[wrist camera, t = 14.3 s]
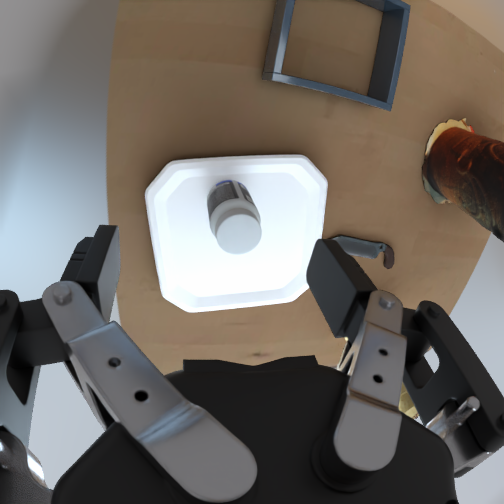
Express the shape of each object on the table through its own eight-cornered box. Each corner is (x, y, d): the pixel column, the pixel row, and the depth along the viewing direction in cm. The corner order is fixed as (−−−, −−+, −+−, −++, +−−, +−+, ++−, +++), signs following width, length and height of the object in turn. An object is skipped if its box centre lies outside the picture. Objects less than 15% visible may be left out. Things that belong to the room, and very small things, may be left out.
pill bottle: (203, 215, 35) (207, 256, 28) (210, 175, 32) (216, 206, 25) (244, 221, 36) (259, 261, 29) (254, 182, 34) (272, 214, 27)
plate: (324, 150, 35) (331, 155, 34) (308, 290, 46) (313, 300, 44) (143, 159, 32) (140, 164, 30) (166, 305, 43) (165, 315, 41)
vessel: (492, 152, 39) (583, 204, 22) (450, 218, 44) (534, 289, 28) (452, 95, 33) (569, 135, 16) (403, 171, 38) (511, 246, 22)
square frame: (261, 79, 30) (271, 80, 26) (282, -28, 23) (295, -41, 19) (370, 106, 33) (391, 111, 29) (389, 9, 26) (410, 5, 23)
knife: (400, 246, 45) (402, 248, 44) (389, 267, 47) (391, 270, 46) (324, 229, 41) (326, 231, 40) (313, 254, 43) (315, 257, 42)
